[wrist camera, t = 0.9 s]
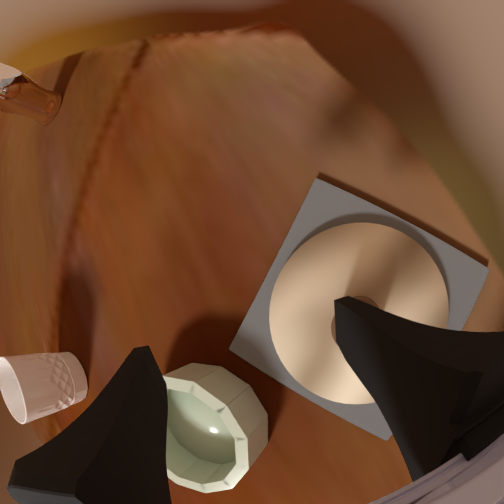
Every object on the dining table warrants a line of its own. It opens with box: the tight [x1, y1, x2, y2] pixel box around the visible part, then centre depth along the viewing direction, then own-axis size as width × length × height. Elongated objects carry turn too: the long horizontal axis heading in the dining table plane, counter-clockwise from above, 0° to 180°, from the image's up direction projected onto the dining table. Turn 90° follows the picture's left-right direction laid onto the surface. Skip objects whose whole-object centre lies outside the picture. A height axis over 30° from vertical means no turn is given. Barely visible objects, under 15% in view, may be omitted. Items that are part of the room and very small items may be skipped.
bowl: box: [162, 363, 268, 493], centre depth 23 cm, size 11×11×4 cm
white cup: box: [0, 352, 88, 424], centre depth 28 cm, size 8×8×10 cm
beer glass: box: [0, 63, 62, 126], centre depth 32 cm, size 7×7×15 cm
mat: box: [229, 178, 490, 441], centre depth 21 cm, size 15×15×1 cm
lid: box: [269, 223, 449, 404], centre depth 18 cm, size 13×13×5 cm
